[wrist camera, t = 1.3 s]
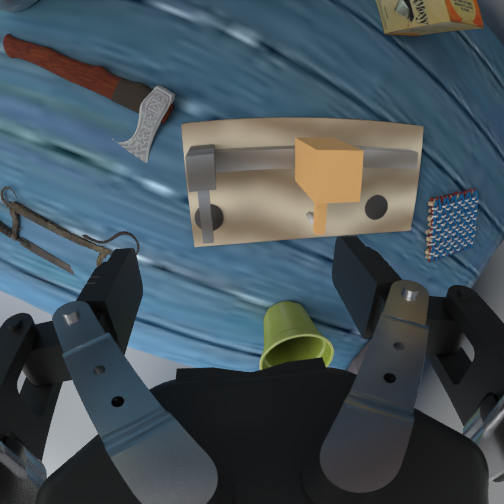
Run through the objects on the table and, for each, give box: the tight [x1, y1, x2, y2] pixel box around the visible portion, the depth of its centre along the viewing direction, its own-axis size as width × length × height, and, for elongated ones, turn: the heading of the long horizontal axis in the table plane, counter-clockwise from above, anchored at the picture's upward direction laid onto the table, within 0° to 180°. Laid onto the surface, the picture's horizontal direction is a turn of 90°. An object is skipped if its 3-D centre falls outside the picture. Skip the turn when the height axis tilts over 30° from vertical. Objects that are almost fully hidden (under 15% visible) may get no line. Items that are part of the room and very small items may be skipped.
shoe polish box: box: [376, 0, 484, 36], centre depth 19 cm, size 5×5×12 cm
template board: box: [181, 117, 423, 247], centre depth 31 cm, size 14×28×7 cm, turn 92°
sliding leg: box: [295, 137, 364, 235], centre depth 28 cm, size 9×4×8 cm, turn 2°
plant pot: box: [259, 301, 334, 370], centre depth 40 cm, size 9×9×9 cm
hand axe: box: [3, 34, 175, 162], centre depth 26 cm, size 27×2×10 cm
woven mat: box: [425, 188, 479, 262], centre depth 39 cm, size 10×11×2 cm
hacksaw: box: [0, 187, 139, 274], centre depth 33 cm, size 24×10×2 cm, turn 55°
